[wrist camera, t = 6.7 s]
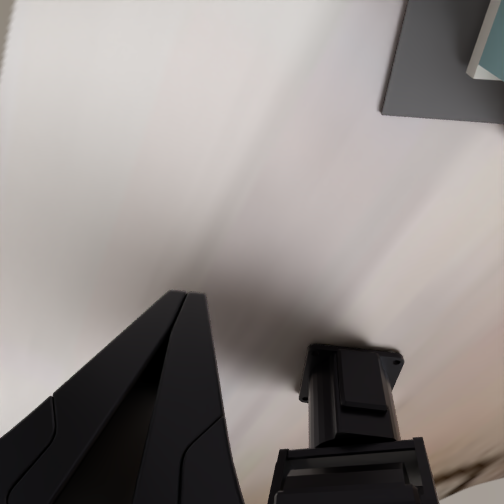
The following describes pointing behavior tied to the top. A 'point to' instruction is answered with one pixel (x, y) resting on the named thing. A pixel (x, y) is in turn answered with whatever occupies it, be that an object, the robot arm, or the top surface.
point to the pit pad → (441, 65)
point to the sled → (489, 46)
